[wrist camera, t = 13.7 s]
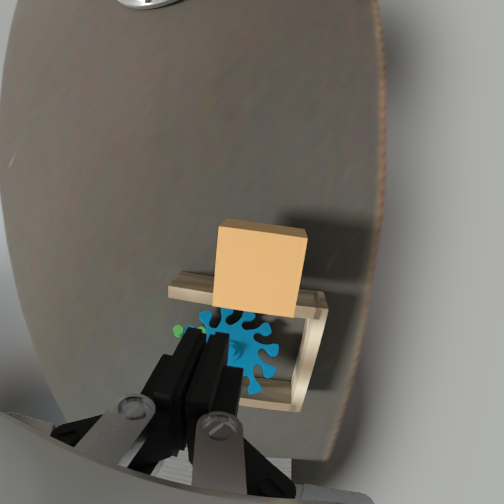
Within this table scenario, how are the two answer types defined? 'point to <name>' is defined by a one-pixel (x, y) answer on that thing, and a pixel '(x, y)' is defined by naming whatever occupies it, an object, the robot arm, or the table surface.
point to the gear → (240, 344)
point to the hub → (258, 267)
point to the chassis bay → (315, 312)
